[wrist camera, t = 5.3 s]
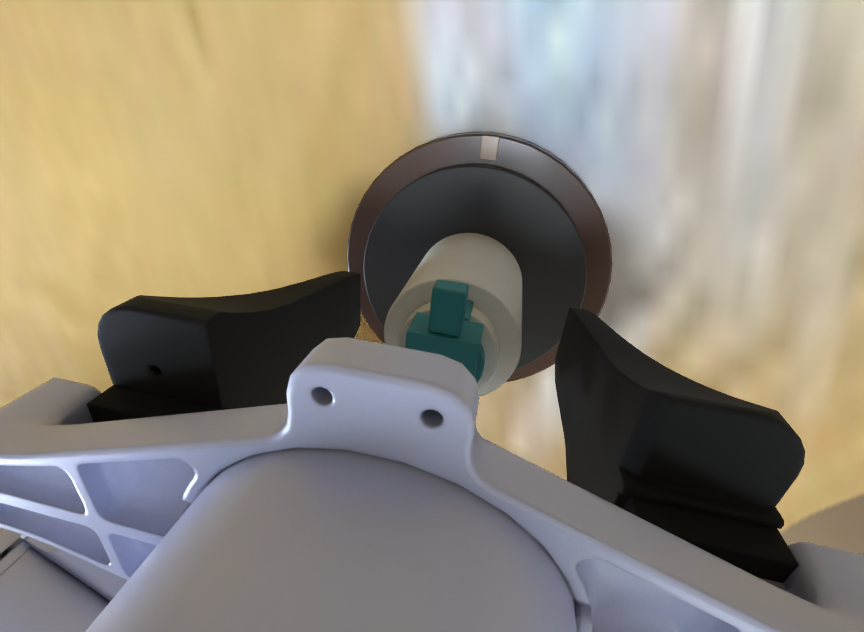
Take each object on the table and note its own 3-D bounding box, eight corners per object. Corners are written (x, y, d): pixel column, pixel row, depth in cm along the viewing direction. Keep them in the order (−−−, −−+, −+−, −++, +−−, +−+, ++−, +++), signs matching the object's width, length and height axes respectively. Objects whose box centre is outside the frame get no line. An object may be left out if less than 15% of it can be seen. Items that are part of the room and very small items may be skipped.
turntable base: (355, 350, 21) (347, 362, 20) (354, 117, 16) (343, 118, 15) (570, 391, 20) (573, 406, 19) (646, 149, 15) (655, 152, 14)
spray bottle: (555, 385, 19) (572, 540, 12) (365, 348, 20) (285, 471, 13) (615, 180, 14) (694, 245, 8) (369, 149, 15) (253, 182, 9)
